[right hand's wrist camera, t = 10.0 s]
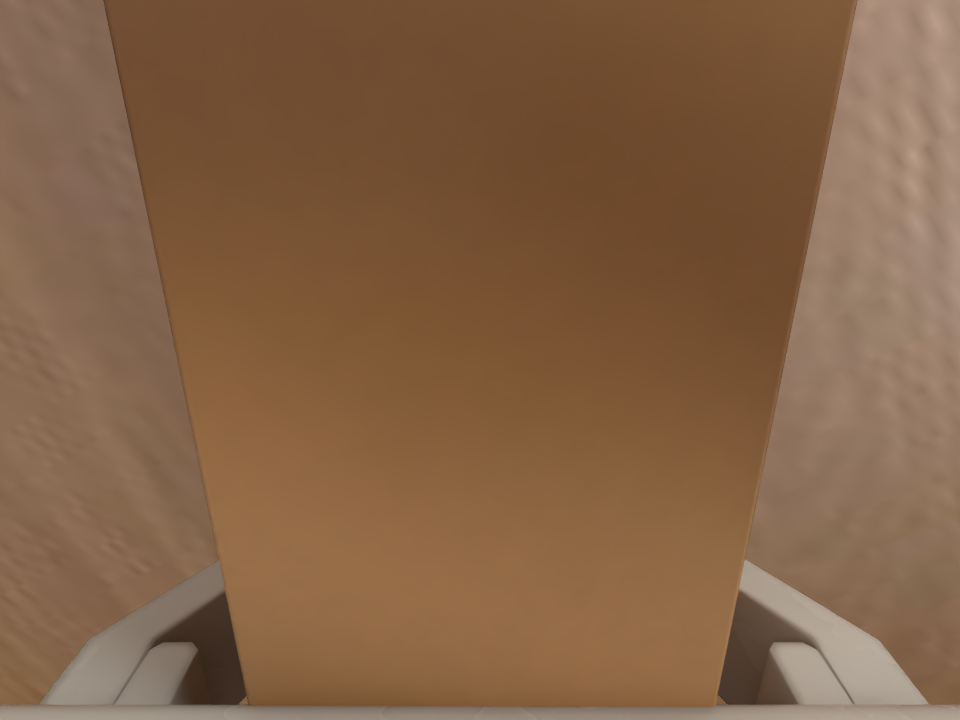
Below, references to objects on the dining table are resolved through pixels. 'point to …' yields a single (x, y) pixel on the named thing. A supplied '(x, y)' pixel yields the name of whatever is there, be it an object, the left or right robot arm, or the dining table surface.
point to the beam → (481, 325)
